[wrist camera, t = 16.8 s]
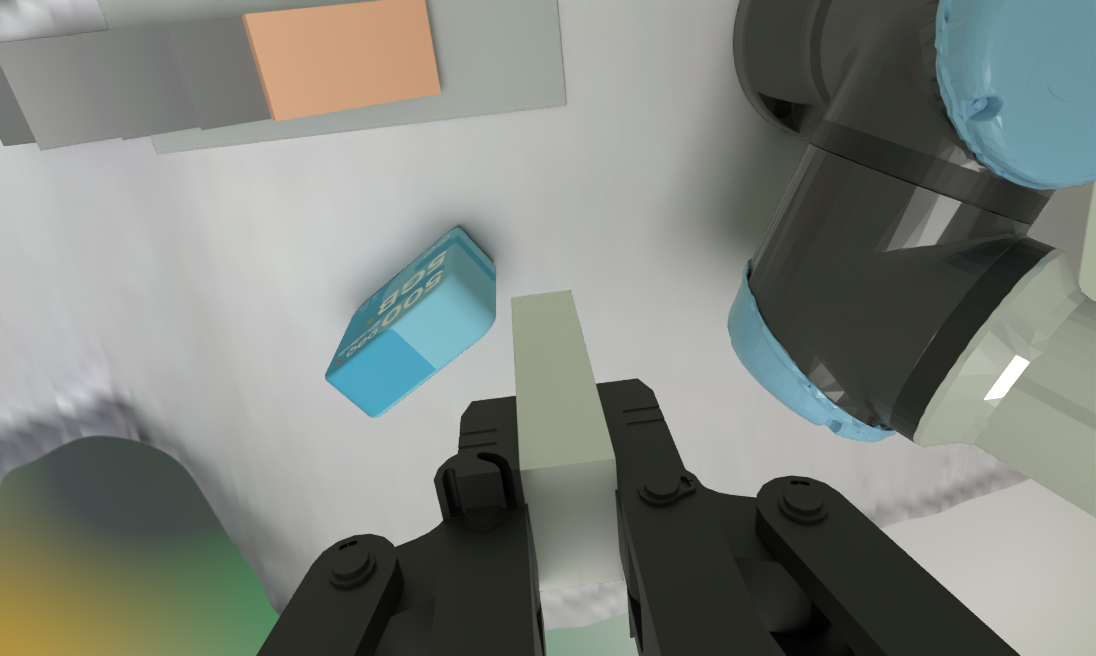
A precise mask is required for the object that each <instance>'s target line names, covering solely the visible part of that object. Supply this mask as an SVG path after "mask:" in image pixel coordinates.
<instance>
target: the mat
mask: <svg viewBox="0 0 1096 656" xmlns="http://www.w3.org/2000/svg"><path fill="white" fill-rule="evenodd" d="M97 1H98V3H99V6H100V8H101V11H102V13H103V16H104V19H105V21H106V24H107V26H108V29H109V30H117V29H127V28H136V27H146V26H156V25H164V23H174V22H184V21H193V20H203V19H213V18H223V17H233V16H242V15H244V14H252V13H262V12H272V11H281V10H291V9H301V8H311V7H321V6H331V5H341V4H351V3H360V2H370V1H380V0H97ZM425 3H426V9H427V15H428V21H429V27H430V32H431V38H432V44H433V50H434V55H435V61H436V67H437V73H438V79H439V84H440V90H441V94H436V95H430V96H424V97H419V98H413V99H407V100H401V101H395V102H389V103H383V104H377V105H371V106H365V107H359V108H354V109H348V110H342V111H336V112H330V113H324V114H318V115H312V116H306V117H300V118H295V119H289V120H283V121H277V122H276V121H275V120H273V119H267V120H261V121H255V122H249V123H243V124H237V125H231V126H225V127H219V128H213V129H207V130H201V128H200V127H199V128H193V129H187V130H181V131H175V132H169V133H163V134H157V135H151V136H150V138H151V140H152V143H153V145H154V148H155V150H156V153H157V154H166V153H174V152H182V151H190V150H199V149H207V148H215V147H224V146H232V145H240V144H249V143H257V142H265V141H273V140H282V139H290V138H298V137H307V136H315V135H323V134H332V133H340V132H348V131H356V130H365V129H373V128H381V127H390V126H398V125H406V124H415V123H423V122H431V121H440V120H448V119H456V118H464V117H473V116H481V115H489V114H498V113H506V112H514V111H523V110H531V109H539V108H547V107H556V106H564V105H566V98H565V87H564V75H563V63H562V52H561V40H560V29H559V17H558V6H557V0H425Z"/></svg>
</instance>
